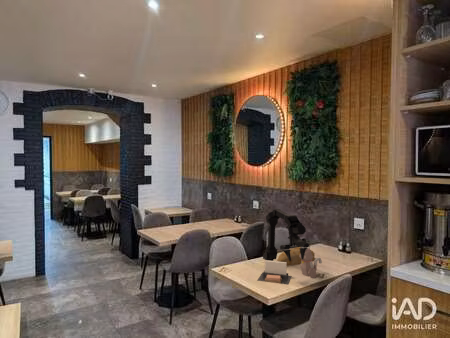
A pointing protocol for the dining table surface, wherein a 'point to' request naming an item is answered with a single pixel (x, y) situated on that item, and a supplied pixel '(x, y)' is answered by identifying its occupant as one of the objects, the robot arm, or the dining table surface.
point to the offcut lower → (273, 281)
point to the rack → (285, 278)
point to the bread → (292, 257)
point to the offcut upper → (273, 277)
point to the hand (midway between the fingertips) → (296, 260)
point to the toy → (309, 264)
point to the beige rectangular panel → (275, 267)
